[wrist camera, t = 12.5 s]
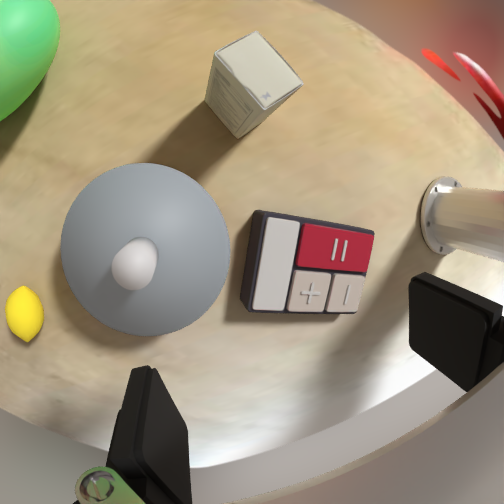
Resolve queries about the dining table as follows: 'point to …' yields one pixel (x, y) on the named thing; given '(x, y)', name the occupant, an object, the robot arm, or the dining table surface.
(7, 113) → the toy bird
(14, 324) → the lemon
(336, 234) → the calculator
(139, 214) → the lid
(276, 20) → the dining table surface
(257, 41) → the skincare box
